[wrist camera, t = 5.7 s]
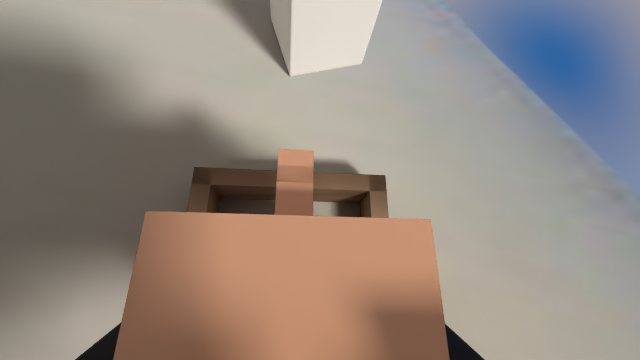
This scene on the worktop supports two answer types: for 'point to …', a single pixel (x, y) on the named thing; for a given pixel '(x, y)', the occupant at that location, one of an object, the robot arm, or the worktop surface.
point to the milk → (323, 32)
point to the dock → (263, 186)
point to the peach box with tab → (283, 284)
